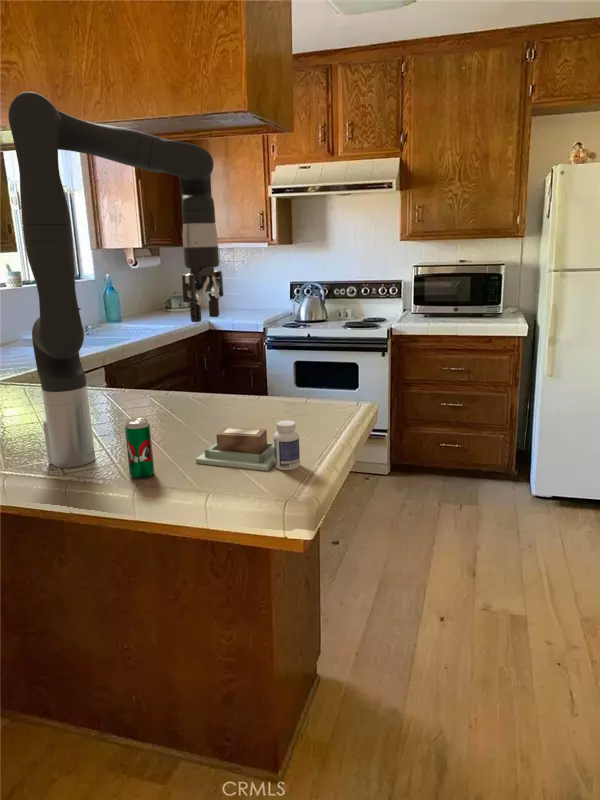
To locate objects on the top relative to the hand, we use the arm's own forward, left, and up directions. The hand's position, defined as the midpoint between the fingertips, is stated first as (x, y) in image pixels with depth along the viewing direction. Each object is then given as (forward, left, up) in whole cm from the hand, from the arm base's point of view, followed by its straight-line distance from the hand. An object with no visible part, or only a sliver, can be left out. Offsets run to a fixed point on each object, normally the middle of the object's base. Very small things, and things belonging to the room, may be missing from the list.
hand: (205, 319), depth 139 cm
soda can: (-6, -21, -30) cm, 37 cm away
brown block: (+10, -5, -29) cm, 31 cm away
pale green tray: (+10, -6, -30) cm, 32 cm away
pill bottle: (+22, -8, -30) cm, 38 cm away
